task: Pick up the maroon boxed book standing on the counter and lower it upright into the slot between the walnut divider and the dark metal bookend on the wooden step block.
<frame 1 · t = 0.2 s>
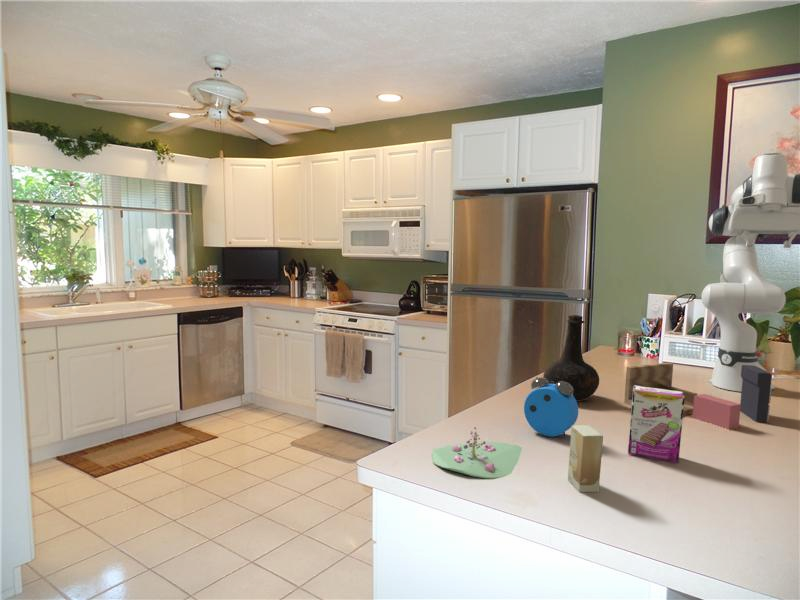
hand: (768, 246, 152), 52 cm above the counter, tool tilted 20°, fingers open, 8 cm apart
skincare box: (583, 486, 108), on the counter
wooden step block: (666, 406, 165), on the counter
bookend: (653, 398, 162), point 4 cm above the counter
alarm clock: (549, 434, 138), on the counter
stepped charcoal slab: (753, 417, 157), on the counter
plant: (480, 459, 122), on the counter
candy bar box: (652, 456, 125), on the counter
boxed book: (714, 422, 150), on the counter
glass bottle: (569, 398, 173), on the counter
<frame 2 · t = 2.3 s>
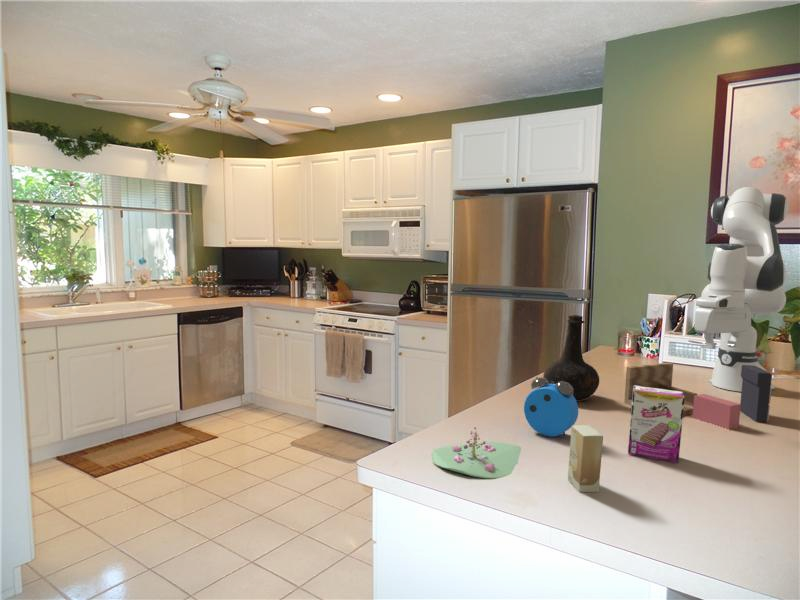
hand: (721, 347, 148), 22 cm above the counter, tool pointing down, fingers open, 8 cm apart
nothing on the counter moved.
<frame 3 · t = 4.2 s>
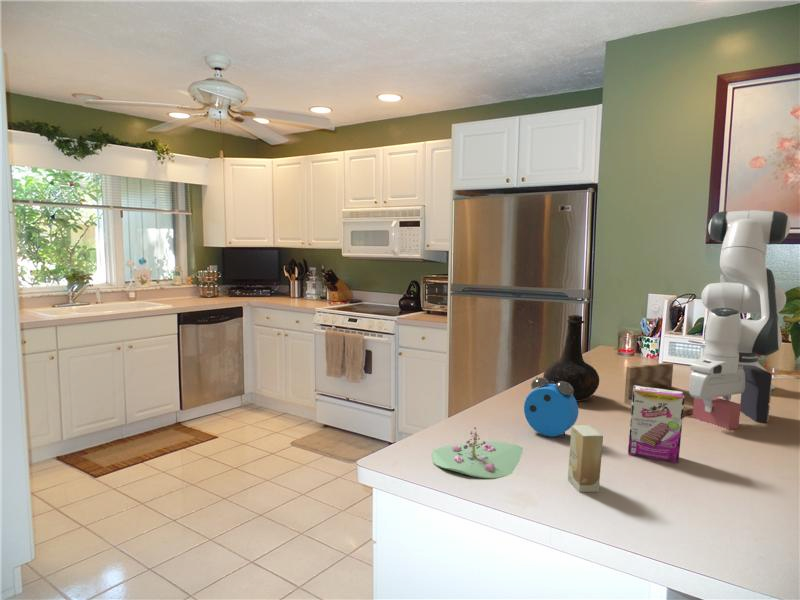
hand: (715, 410, 150), 4 cm above the counter, tool pointing down, fingers closed on boxed book, 5 cm apart
boxed book: (714, 422, 150), on the counter, touching gripper
everything else where it was.
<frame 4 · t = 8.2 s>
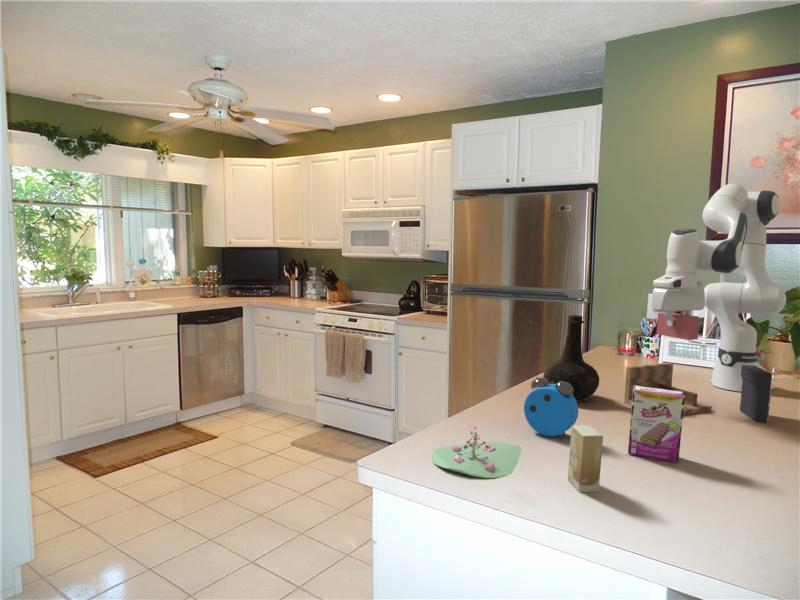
hand: (677, 325, 161), 27 cm above the counter, tool pointing down, fingers closed on boxed book, 4 cm apart
boxed book: (676, 336, 162), point 23 cm above the counter, touching gripper
everything else where it was.
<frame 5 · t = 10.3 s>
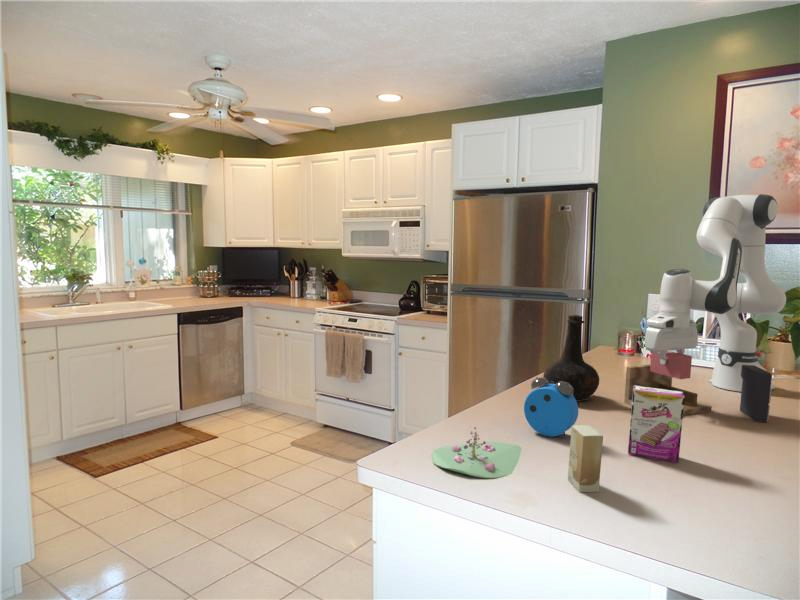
hand: (670, 363, 164), 14 cm above the counter, tool pointing down, fingers closed on boxed book, 4 cm apart
boxed book: (669, 374, 164), point 11 cm above the counter, touching gripper
everything else where it was.
when the fingers open (7 cm above the counter, at t = 12.1 s): boxed book drops 2 cm, resting on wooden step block.
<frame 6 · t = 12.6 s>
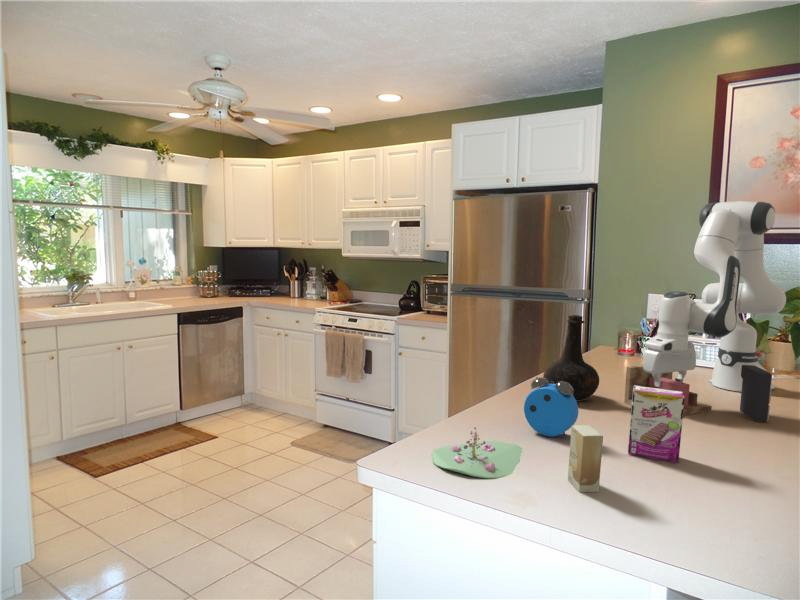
hand: (668, 385, 164), 7 cm above the counter, tool pointing down, fingers open, 8 cm apart
boxed book: (667, 402, 165), point 1 cm above the counter, touching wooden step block
everything else where it was.
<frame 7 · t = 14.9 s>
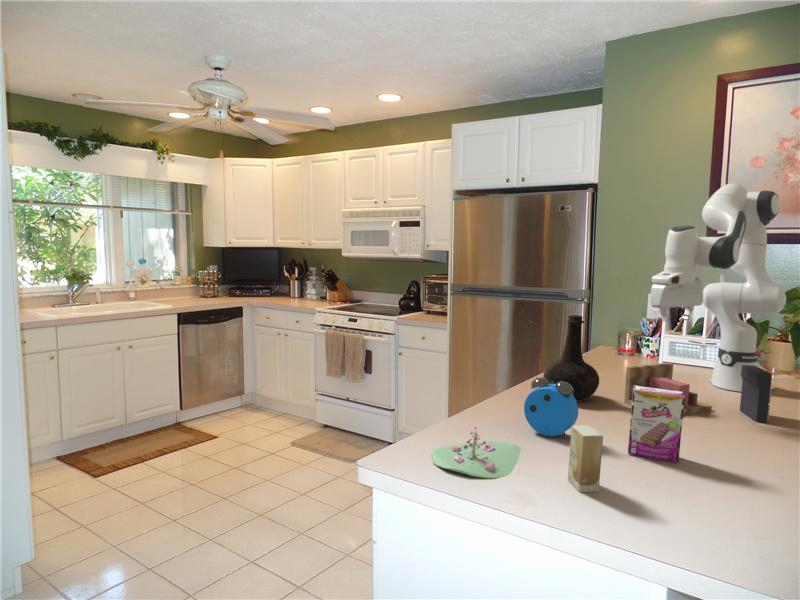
hand: (675, 320, 163), 28 cm above the counter, tool pointing down, fingers open, 8 cm apart
nothing on the counter moved.
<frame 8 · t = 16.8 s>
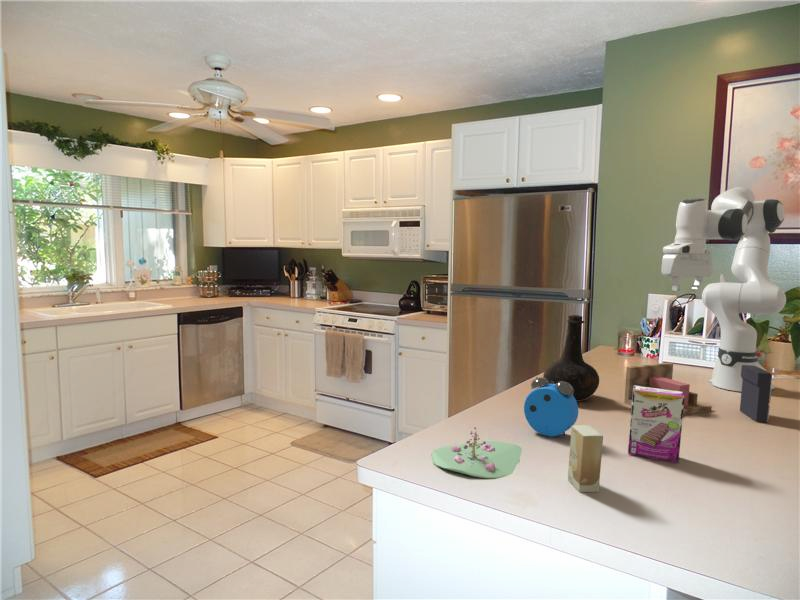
hand: (685, 290, 169), 37 cm above the counter, tool pointing down, fingers open, 8 cm apart
nothing on the counter moved.
at the end: boxed book 0.1 cm off-centre on the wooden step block, point 1.5 cm above the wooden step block's base; boxed book tilted 0°; the gripper is holding nothing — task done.
